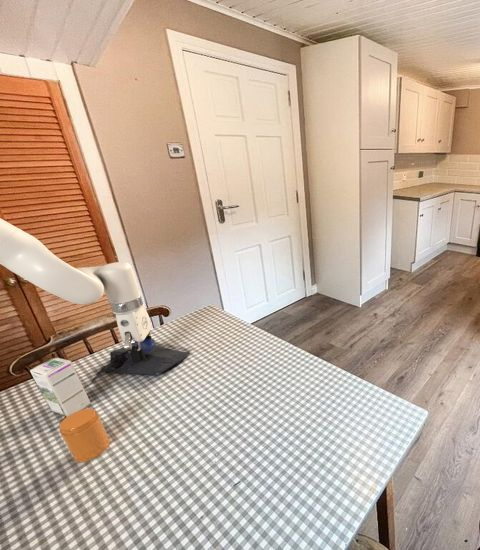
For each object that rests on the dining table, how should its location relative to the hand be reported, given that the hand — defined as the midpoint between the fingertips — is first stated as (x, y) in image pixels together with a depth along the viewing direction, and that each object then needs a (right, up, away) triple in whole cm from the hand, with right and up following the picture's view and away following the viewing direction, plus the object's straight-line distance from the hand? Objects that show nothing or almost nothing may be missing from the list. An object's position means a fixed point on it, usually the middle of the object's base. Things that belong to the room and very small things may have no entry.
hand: (143, 353), depth 96 cm
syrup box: (-8, -11, -15) cm, 20 cm away
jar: (+7, -15, -26) cm, 31 cm away
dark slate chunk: (0, -4, +2) cm, 5 cm away
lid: (0, +3, -1) cm, 3 cm away
